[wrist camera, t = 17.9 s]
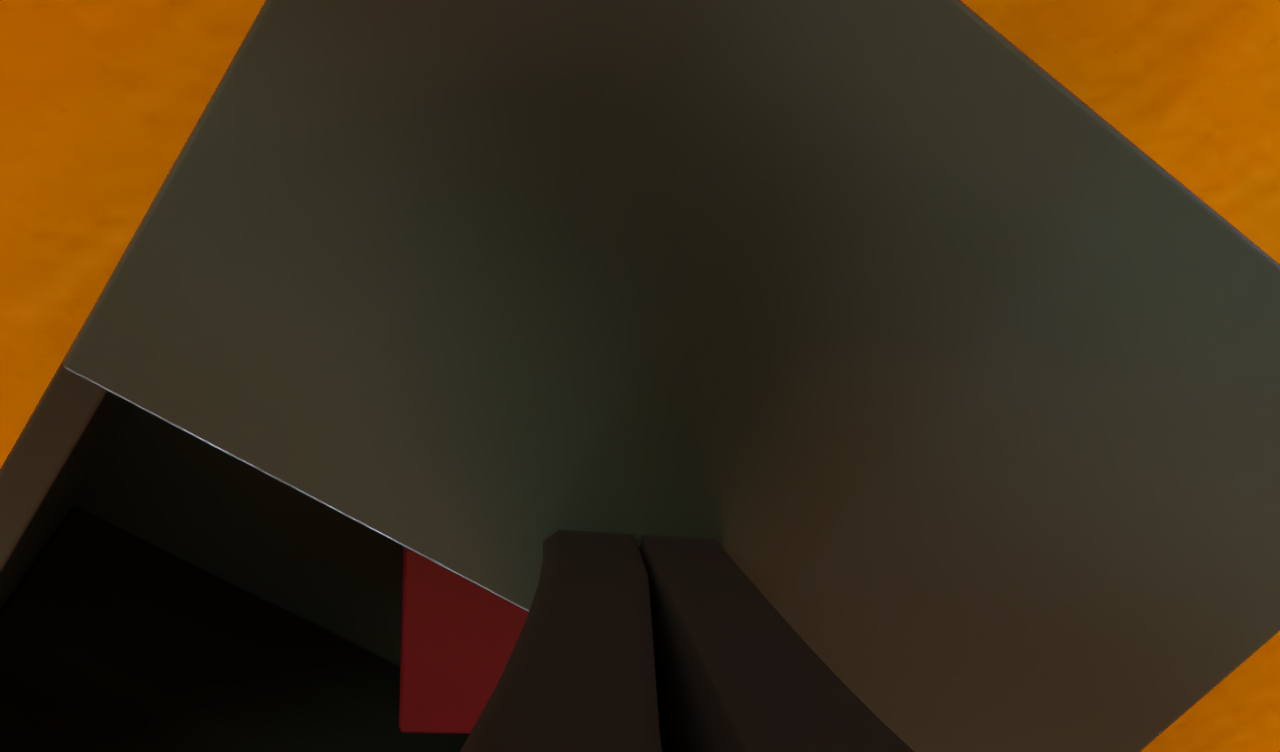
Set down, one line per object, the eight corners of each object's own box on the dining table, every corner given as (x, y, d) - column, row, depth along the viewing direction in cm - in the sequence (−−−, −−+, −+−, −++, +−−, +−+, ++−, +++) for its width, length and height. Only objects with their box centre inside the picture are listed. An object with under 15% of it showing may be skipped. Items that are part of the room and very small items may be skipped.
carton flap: (489, -384, 7) (486, -393, 7) (1465, 422, 10) (1497, 444, 9) (79, 344, 9) (56, 367, 8) (995, 833, 12) (1010, 866, 11)
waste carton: (504, -277, 13) (489, -386, 7) (1106, 202, 16) (1441, 398, 10) (43, 499, 16) (-222, 853, 11) (614, 776, 19) (654, 1172, 14)
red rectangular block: (435, 33, 14) (414, 75, 11) (723, 59, 14) (770, 106, 12) (417, 595, 17) (398, 734, 14) (653, 602, 18) (678, 740, 15)
